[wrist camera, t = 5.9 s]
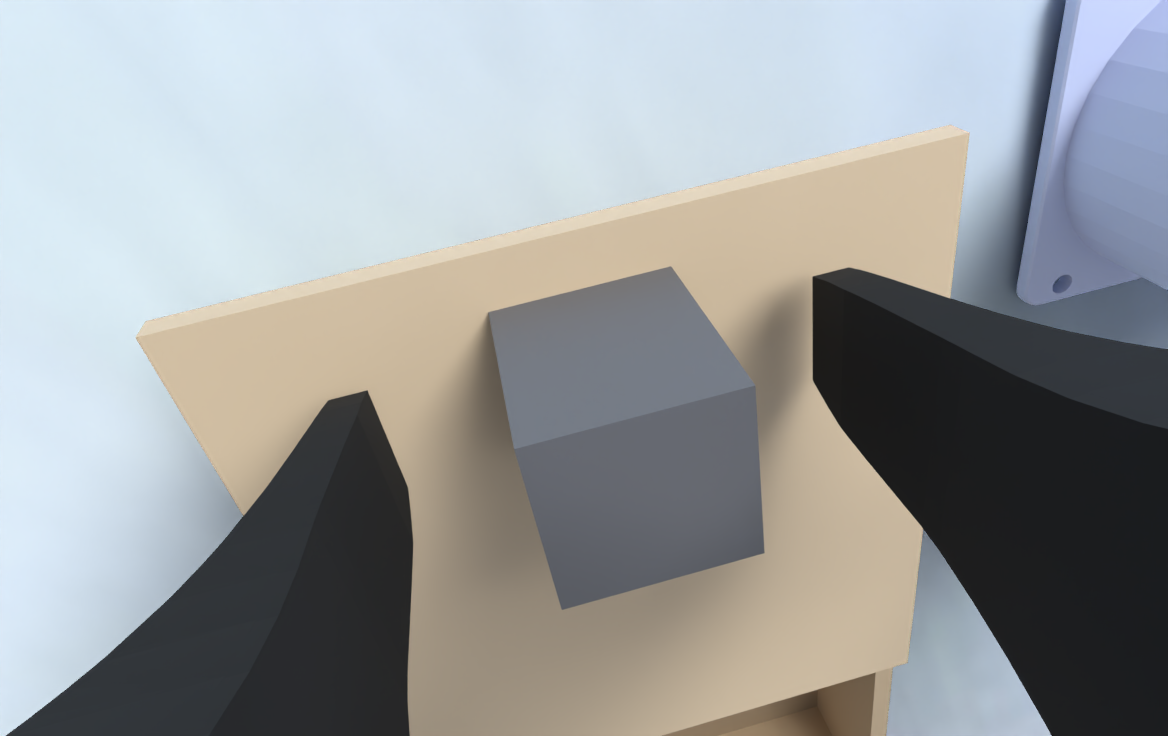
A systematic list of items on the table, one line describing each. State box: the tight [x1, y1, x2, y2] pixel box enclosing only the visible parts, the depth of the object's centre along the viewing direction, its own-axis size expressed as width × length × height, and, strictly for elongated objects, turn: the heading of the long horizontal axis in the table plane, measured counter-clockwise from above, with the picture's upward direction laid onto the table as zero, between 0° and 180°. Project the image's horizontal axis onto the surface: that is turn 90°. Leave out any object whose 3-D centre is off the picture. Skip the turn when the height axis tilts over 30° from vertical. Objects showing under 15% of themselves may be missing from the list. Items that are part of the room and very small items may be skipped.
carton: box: [662, 667, 893, 736], centre depth 22 cm, size 13×14×4 cm
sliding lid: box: [136, 125, 969, 736], centre depth 14 cm, size 13×14×4 cm
